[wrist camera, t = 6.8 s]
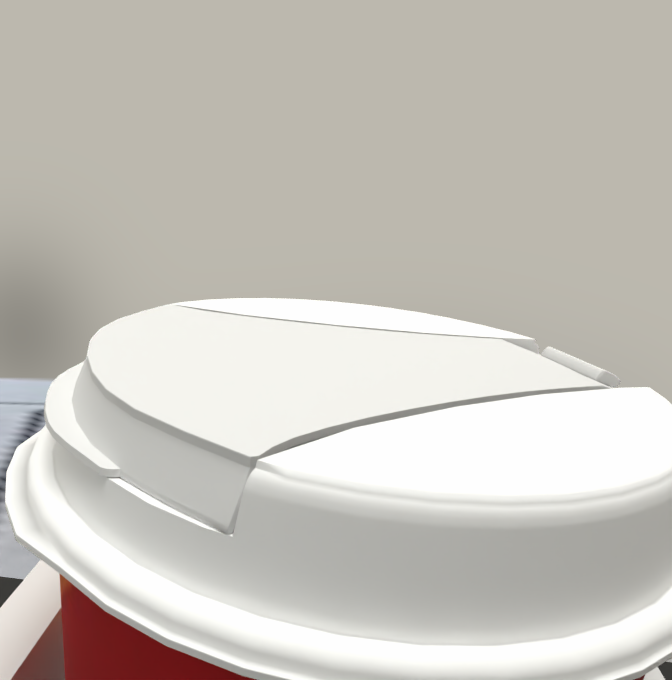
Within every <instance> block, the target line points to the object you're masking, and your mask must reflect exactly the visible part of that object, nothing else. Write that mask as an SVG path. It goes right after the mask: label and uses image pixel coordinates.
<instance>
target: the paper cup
mask: <svg viewBox="0 0 672 680" xmlns="http://www.w3.org/2000/svg"><path fill="white" fill-rule="evenodd" d="M534 342H535V339H533V338H529V337H526V336H522V335H519V334H515V333H511V332H508V331H504V330H500V329H496V328H492V327H487V326H484V325H480V324H475V323H470V322H465V321H461V320H456V319H452V318H446V317H441V316H436V315H430V314H425V313H419V312H412V311H406V310H400V309H393V308H387V307H378V306H370V305H362V304H352V303H343V302H332V301H319V300H303V299H278V298H275V299H274V298H234V299H213V300H200V301H190V302H181V303H174V304H168V305H164V306H161V307H156V308H153V309H149V310H145V311H142V312H139V313H135V314H132V315H129V316H126V317H123V318H120V319H117V320H115V321H113V322H112V323H110V324H108V325H106V326H104V327H102V328H100V329H99V330H98V332H97V333H96V334H95V335H94V336H93V337H92V338H91V339H90V342H89V347H88V352H87V357H86V359H85V361H84V362H82V363H80V364H78V365H76V366H74V367H72V368H70V369H68V370H67V371H65V372H64V373H62V374H61V375H59V376H58V377H57V378H56V379H55V380H54V381H53V382H52V383H51V385H50V388H49V390H48V392H47V396H46V401H45V406H44V418H45V422H46V425H45V426H44V428H43V429H42V430H41V431H39V432H38V433H36V434H35V435H34V436H32V437H31V438H29V439H28V440H26V441H25V442H24V443H22V444H21V445H19V446H18V447H17V449H16V451H15V454H14V456H13V458H12V461H11V463H10V465H9V468H8V470H7V474H6V496H5V508H6V511H7V514H8V517H9V520H10V523H11V526H12V530H13V533H14V536H15V539H16V541H17V542H19V543H20V544H21V545H22V546H24V547H25V548H26V549H28V550H29V551H30V552H32V553H33V554H34V555H36V556H37V557H38V558H40V559H41V560H42V561H44V562H45V563H46V564H48V565H49V566H50V567H52V568H53V569H54V570H56V571H57V572H58V573H59V574H60V592H61V611H62V630H63V649H64V668H65V680H643V679H644V676H645V674H647V673H648V672H650V671H651V670H653V669H655V668H656V667H658V666H659V665H661V664H663V663H664V662H666V661H667V660H669V659H671V658H672V404H670V402H668V400H666V399H665V398H664V397H662V396H661V395H659V394H658V393H656V392H655V391H653V390H652V389H651V388H649V387H640V388H611V387H616V386H618V385H619V384H620V380H619V378H618V377H617V376H615V375H614V374H612V373H610V372H608V371H606V370H604V369H601V368H599V367H596V366H594V365H592V364H589V363H587V362H585V361H582V360H580V359H578V358H575V357H573V356H571V355H568V354H566V353H564V352H561V351H559V350H557V349H554V348H552V347H547V348H545V350H544V351H543V352H542V354H541V355H539V348H538V345H537V344H535V343H534ZM609 386H611V387H609Z"/></svg>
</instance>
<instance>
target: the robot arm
mask: <svg viewBox="0 0 672 680" xmlns="http://www.w3.org/2000/svg"><path fill="white" fill-rule="evenodd" d="M0 680H65V668H64V649H63V630H62V611H61V592H60V574H59V573H58V572H57V571H56V570H54V569H53V568H52V567H50V566H49V565H48V564H46V563H45V562H44V561H42V560H40V561H39V562H38V564H37V565H36V566H35V567H34V568H33V569H32V571H31V572H30V573H29V574H28V575H27V577H26V578H25V579H24V580H23V579H15V578H7V577H0ZM643 680H672V663H671V662H664V663H663V664H661V665H659V666H658V667H656V668H655V669H653V670H651V671H650V672H648V673H647V674H645V676H644V679H643Z"/></svg>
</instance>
